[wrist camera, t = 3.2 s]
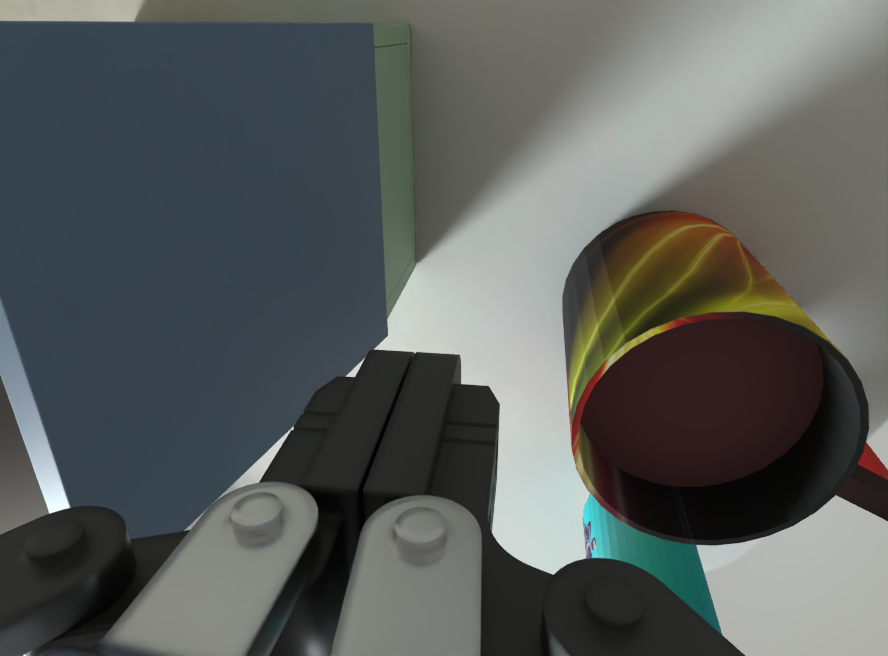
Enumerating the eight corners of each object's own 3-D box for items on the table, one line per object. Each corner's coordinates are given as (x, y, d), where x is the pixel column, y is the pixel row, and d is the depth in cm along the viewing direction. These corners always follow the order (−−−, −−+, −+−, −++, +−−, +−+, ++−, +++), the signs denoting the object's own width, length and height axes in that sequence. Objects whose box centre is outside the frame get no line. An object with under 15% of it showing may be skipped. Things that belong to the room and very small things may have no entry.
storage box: (176, 255, 35) (85, 311, 28) (131, 25, 30) (7, 24, 23) (415, 266, 33) (382, 329, 26) (409, 23, 28) (366, 23, 21)
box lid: (77, 598, 14) (104, 608, 14) (-127, 21, 9) (-91, 20, 9) (371, 333, 26) (388, 336, 26) (352, 23, 21) (373, 23, 21)
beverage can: (578, 459, 37) (598, 702, 24) (680, 456, 36) (761, 709, 23) (583, 534, 40) (604, 793, 26) (679, 533, 38) (752, 803, 25)
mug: (818, 398, 33) (947, 573, 23) (554, 376, 35) (559, 530, 24) (874, 220, 29) (1066, 332, 18) (571, 205, 31) (586, 301, 20)
